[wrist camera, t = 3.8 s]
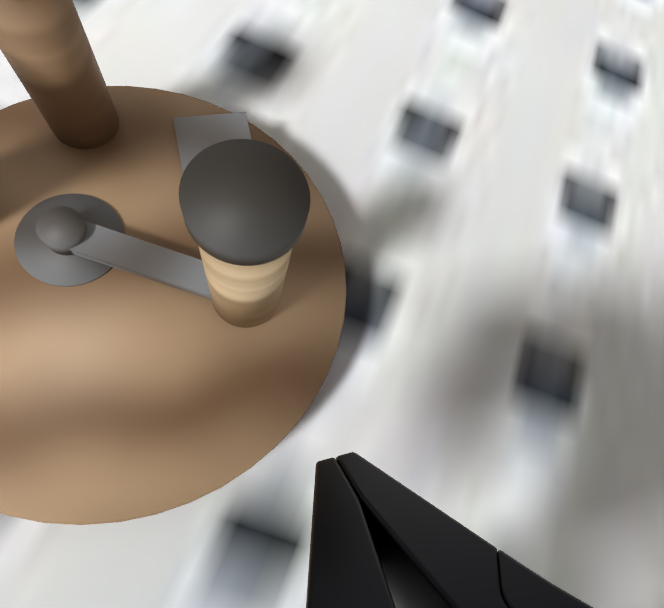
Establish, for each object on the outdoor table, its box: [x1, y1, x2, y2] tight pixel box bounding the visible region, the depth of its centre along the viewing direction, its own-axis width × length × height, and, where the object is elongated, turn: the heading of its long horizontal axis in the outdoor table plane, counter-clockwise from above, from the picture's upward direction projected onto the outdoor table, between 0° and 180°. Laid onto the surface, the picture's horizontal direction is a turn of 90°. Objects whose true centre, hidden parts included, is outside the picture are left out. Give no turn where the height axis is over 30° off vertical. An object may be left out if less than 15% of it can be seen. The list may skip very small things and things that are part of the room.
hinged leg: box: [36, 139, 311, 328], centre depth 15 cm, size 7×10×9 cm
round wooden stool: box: [0, 0, 346, 525], centre depth 17 cm, size 20×20×11 cm
